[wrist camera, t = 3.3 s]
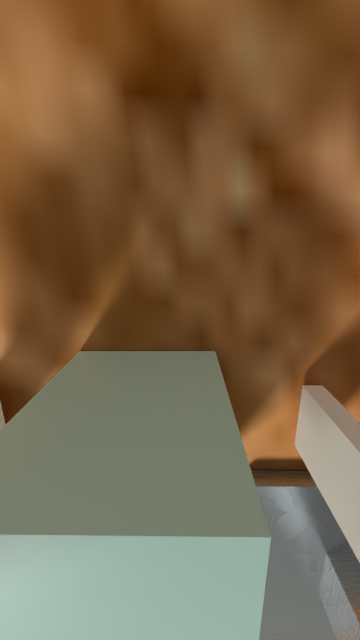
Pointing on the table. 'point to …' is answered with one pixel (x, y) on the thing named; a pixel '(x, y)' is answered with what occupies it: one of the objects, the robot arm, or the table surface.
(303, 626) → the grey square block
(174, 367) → the mint green block
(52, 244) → the table surface
